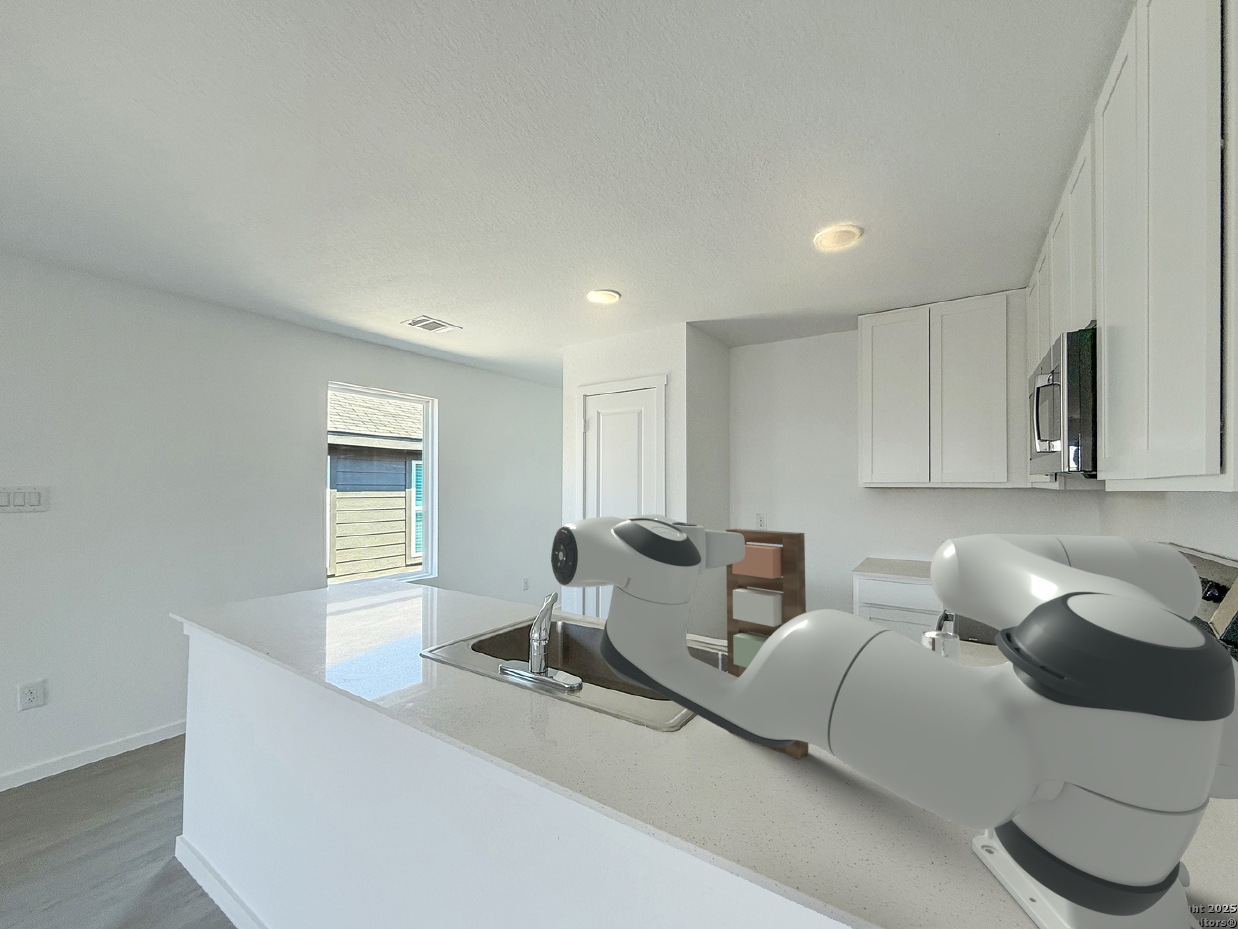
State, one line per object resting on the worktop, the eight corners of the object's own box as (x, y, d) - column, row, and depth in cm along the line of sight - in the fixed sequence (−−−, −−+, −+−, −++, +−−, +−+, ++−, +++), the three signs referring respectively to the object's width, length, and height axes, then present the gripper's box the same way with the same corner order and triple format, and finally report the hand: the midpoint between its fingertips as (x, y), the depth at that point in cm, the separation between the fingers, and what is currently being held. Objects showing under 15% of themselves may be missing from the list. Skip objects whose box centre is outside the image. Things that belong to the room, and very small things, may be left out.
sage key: (774, 675, 89) (773, 645, 89) (733, 664, 94) (733, 635, 95) (786, 669, 91) (785, 640, 92) (746, 659, 97) (745, 631, 97)
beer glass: (969, 718, 103) (966, 640, 103) (929, 715, 104) (927, 638, 105) (954, 704, 110) (952, 631, 110) (917, 701, 111) (915, 629, 112)
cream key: (773, 626, 89) (773, 596, 89) (733, 618, 95) (732, 590, 95) (785, 622, 92) (785, 593, 92) (745, 614, 97) (745, 587, 98)
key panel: (799, 759, 88) (795, 534, 89) (728, 731, 98) (726, 529, 99) (808, 753, 90) (804, 533, 91) (737, 726, 100) (735, 528, 101)
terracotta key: (772, 578, 89) (772, 548, 90) (732, 573, 95) (732, 545, 95) (784, 575, 92) (784, 546, 92) (744, 570, 98) (744, 543, 98)
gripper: (600, 561, 82) (660, 553, 92) (708, 577, 67) (765, 566, 77) (600, 520, 82) (659, 516, 92) (708, 527, 68) (765, 522, 77)
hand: (709, 539), depth 84 cm, fingers closed
